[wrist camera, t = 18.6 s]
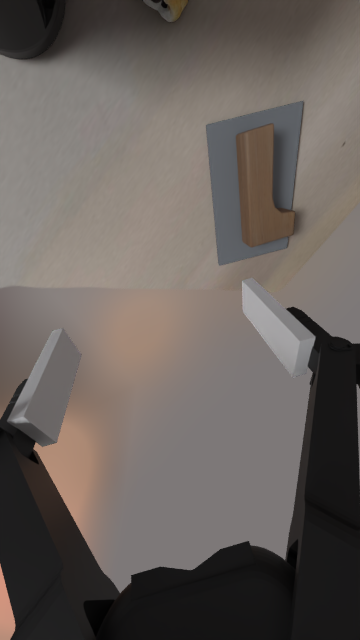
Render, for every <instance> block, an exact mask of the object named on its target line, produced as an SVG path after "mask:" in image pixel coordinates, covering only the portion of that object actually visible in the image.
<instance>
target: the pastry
mask: <svg viewBox="0 0 360 640" xmlns="http://www.w3.org/2000/svg"><path fill="white" fill-rule="evenodd" d="M142 1H143V2H144V3H146V4H147V5H148V6H150V7H152V8H153V9H155V10H158V11H159V13H160V15H161V16H162V17H163V18H164V19H166V20H167V21H168V22H174V21H176V20H177V19H178V18H179V17H180V15H181V13H182V11H183V9H184V7H185V6H186V5H187V3H188V0H142Z"/></svg>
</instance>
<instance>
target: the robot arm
mask: <svg viewBox="0 0 360 640" xmlns="http://www.w3.org/2000/svg"><path fill="white" fill-rule="evenodd" d="M64 11H65V0H0V54H1V55H4V56H7V57H11V58H17V59H27V58H32V57H35V56H37V55H40V54H41V53H43V52H44V51H46V50H47V49H48V48H49V47H50V46H51V44H52V43H53V42H54V40H55V39H56V37H57V35H58V33H59V30H60V27H61V24H62V21H63V16H64ZM242 294H243V312H244V313H245V315H246V316H247V318H248V319H249V320H250V321H251V323H252V324H253V325H254V327H255V328H256V330H257V331H258V332H259V333H260V335H261V336H262V337H263V339H264V340H265V341H266V343H267V344H268V345H269V347H270V348H271V349H272V351H273V352H274V353H275V355H276V356H277V357H278V359H279V360H280V361H281V363H282V364H283V365H284V367H285V368H286V369H287V371H288V372H289V373H290V375H291V376H292V377H297V376H300V375H303V374H306V372H307V368H308V367H309V368H310V369H311V371H312V372H313V374H312V377H311V381H310V385H311V387H310V394H309V401H308V409H307V416H306V423H305V431H304V438H303V445H302V453H301V460H300V468H299V475H298V483H297V489H296V497H295V505H294V511H293V517H292V522H291V526H290V532H289V538H288V545H287V552H286V559H285V560H284V559H283V558H281V557H280V556H278V555H277V554H275V553H273V552H271V551H269V550H267V549H265V548H261V547H258V546H250V543H249V541H247V542H243V543H240V544H237V545H233V546H230V547H227V548H223V549H220V550H219V551H217V552H216V553H215V554H213V555H212V556H211V557H210V558H208V559H207V560H206V561H204V562H203V563H202V564H200V565H199V566H198V567H197V568H195V569H193V570H183V569H175V568H167V567H158V568H155V569H151V570H148V571H144V572H141V573H137V574H134V575H131V583H130V584H129V585H128V586H127V587H126V588H125V589H124V590H123V591H122V592H121V593H119V591H118V590H117V588H116V586H115V585H114V583H113V582H112V581H111V580H110V579H109V578H108V577H107V576H106V575H105V574H104V573H103V571H102V570H101V569H100V567H99V565H98V563H97V561H96V560H95V558H94V556H93V554H92V552H91V551H90V549H89V547H88V545H87V543H86V541H85V539H84V538H83V536H82V534H81V532H80V530H79V529H78V527H77V525H76V523H75V521H74V519H73V517H72V516H71V514H70V512H69V510H68V508H67V506H66V505H65V503H64V501H63V499H62V497H61V495H60V494H59V492H58V490H57V488H56V486H55V484H54V483H53V481H52V479H51V477H50V476H49V473H48V472H47V470H46V468H45V466H44V464H43V462H42V461H41V459H40V457H39V455H38V453H37V452H36V451H35V450H34V449H33V448H34V445H35V442H37V443H38V444H39V445H41V446H42V447H43V446H47V445H50V444H54V443H57V439H58V436H59V433H60V429H61V425H62V422H63V418H64V415H65V411H66V408H67V404H68V401H69V397H70V394H71V390H72V387H73V383H74V380H75V376H76V373H77V369H78V366H79V362H80V359H81V353H80V352H79V350H78V349H77V347H76V346H75V344H74V343H73V341H72V340H71V339H70V337H69V336H68V334H67V333H66V332H65V330H64V329H63V328H61V329H57V330H53V331H52V333H51V335H50V337H49V339H48V341H47V343H46V345H45V347H44V348H43V351H42V352H41V355H40V356H39V359H38V361H37V362H36V364H35V367H34V368H33V371H32V372H31V374H30V377H29V378H28V379H25V380H24V381H23V382H22V383H21V384H20V385H19V386H18V388H17V389H16V391H15V393H14V395H13V398H12V399H11V401H10V404H9V405H8V406H7V408H6V410H5V412H4V414H3V416H2V417H1V419H0V564H1V568H2V572H3V576H4V579H5V584H6V588H7V591H8V595H9V599H10V603H11V606H12V610H13V615H14V618H15V624H16V627H15V632H14V634H13V636H12V638H11V639H10V640H360V481H359V451H358V422H357V420H358V419H357V389H356V384H358V386H359V388H360V344H352V343H351V342H349V341H348V340H346V339H343V338H340V337H332V336H331V335H330V334H328V333H327V332H326V331H325V330H324V329H323V328H321V327H320V326H319V325H318V324H317V323H316V322H314V321H313V320H312V319H311V318H310V317H308V316H307V315H306V314H305V313H304V312H303V311H302V310H299V309H297V308H295V307H291V308H287V309H285V308H284V307H283V306H282V305H281V304H280V303H279V302H278V301H277V300H276V299H275V298H274V297H272V296H271V295H270V294H269V293H268V292H267V291H266V290H265V289H264V288H263V287H262V286H261V285H260V284H259V283H257V282H256V281H255V280H254V279H253V278H250V279H246V280H242Z"/></svg>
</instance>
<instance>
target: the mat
mask: <svg viewBox="0 0 360 640" xmlns="http://www.w3.org/2000/svg"><path fill="white" fill-rule="evenodd" d="M302 108H303V101H300V102H296V103H292V104H288V105H284V106H280V107H276V108H272V109H268V110H264V111H260V112H256V113H252V114H248V115H244V116H240V117H236V118H232V119H228V120H224V121H220V122H216V123H212V124H208V125H206V131H207V142H208V153H209V164H210V175H211V186H212V197H213V208H214V219H215V230H216V241H217V252H218V263H219V266H220V265H224V264H228V263H231V262H235V261H239V260H243V259H247V258H250V257H254V256H258V255H262V254H266V253H269V252H273V251H277V250H281V249H285V248H287V243H288V237H284V238H281V239H278V240H275V241H271V242H268V243H265V244H262V245H258V246H255V247H249V246H248V245H246V244H245V243H243V241H242V229H241V214H240V197H239V181H238V165H237V149H236V135H237V134H238V133H242V132H245V131H248V130H251V129H254V128H257V127H260V126H264V125H267V124H270V123H273V124H274V154H273V201H274V205H275V207H276V208H284V209H288V210H291V207H292V198H293V189H294V180H295V171H296V162H297V153H298V144H299V135H300V126H301V117H302Z"/></svg>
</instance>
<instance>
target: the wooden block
mask: <svg viewBox="0 0 360 640" xmlns="http://www.w3.org/2000/svg"><path fill="white" fill-rule="evenodd" d="M236 149H237V165H238V181H239V197H240V214H241V229H242V241H243V243H245V244H246V245H248V246H249V247H255V246H258V245H262V244H265V243H268V242H271V241H275V240H278V239H281V238H284V237H288V236H291V235H293V232H294V220H295V212H294V211H292V210H288V209H284V208H276V207H275V205H274V201H273V154H274V124H273V123H270V124H267V125H264V126H260V127H257V128H254V129H251V130H248V131H245V132H242V133H238V134H237V135H236Z"/></svg>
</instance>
